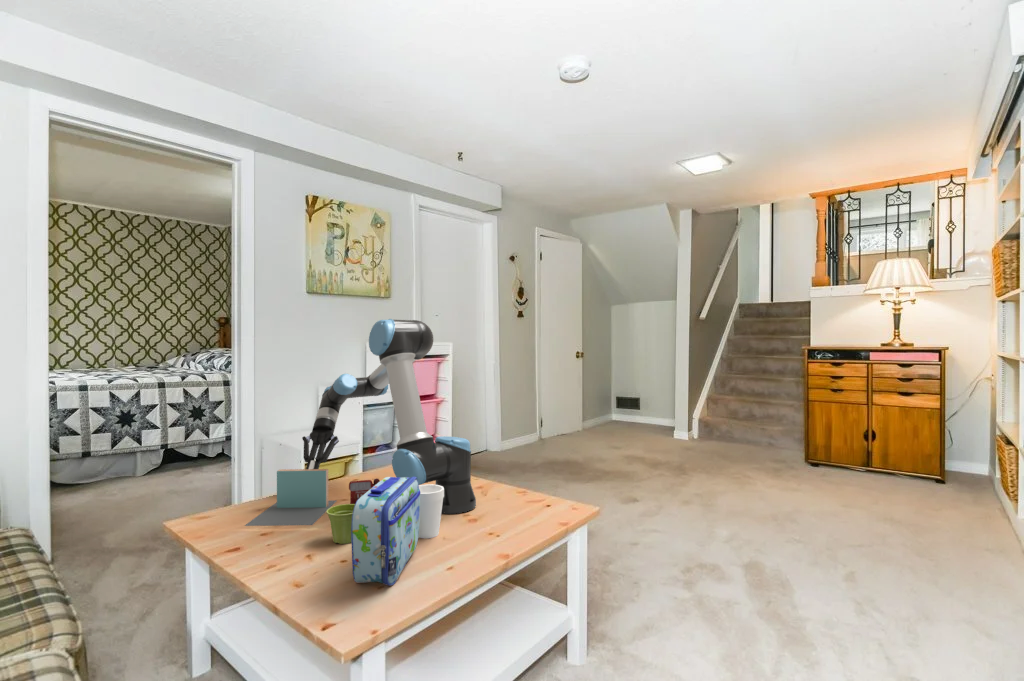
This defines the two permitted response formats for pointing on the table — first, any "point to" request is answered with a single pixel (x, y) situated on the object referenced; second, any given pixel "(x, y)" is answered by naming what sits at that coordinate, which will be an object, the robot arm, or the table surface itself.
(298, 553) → the table surface
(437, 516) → the foam cup
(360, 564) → the lunch box
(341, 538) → the plant pot
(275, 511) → the rubber mat
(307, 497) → the terracotta tile
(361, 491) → the toy fire truck
